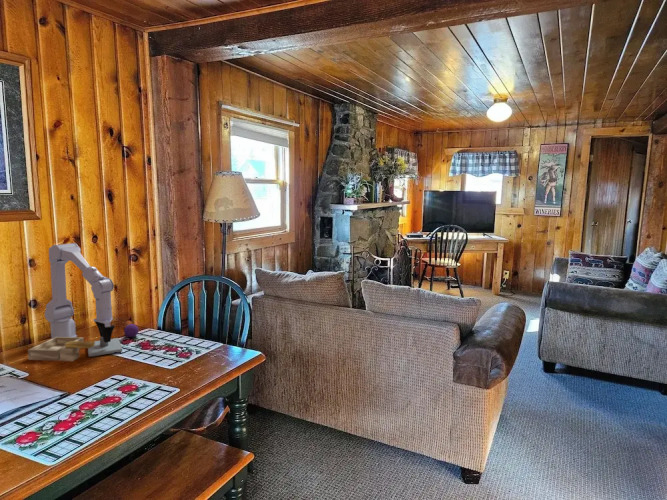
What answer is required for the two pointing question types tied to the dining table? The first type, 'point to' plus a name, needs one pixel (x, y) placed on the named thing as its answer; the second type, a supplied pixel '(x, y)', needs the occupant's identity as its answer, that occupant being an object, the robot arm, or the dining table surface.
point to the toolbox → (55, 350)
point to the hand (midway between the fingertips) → (105, 339)
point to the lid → (105, 347)
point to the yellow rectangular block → (80, 344)
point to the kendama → (130, 329)
